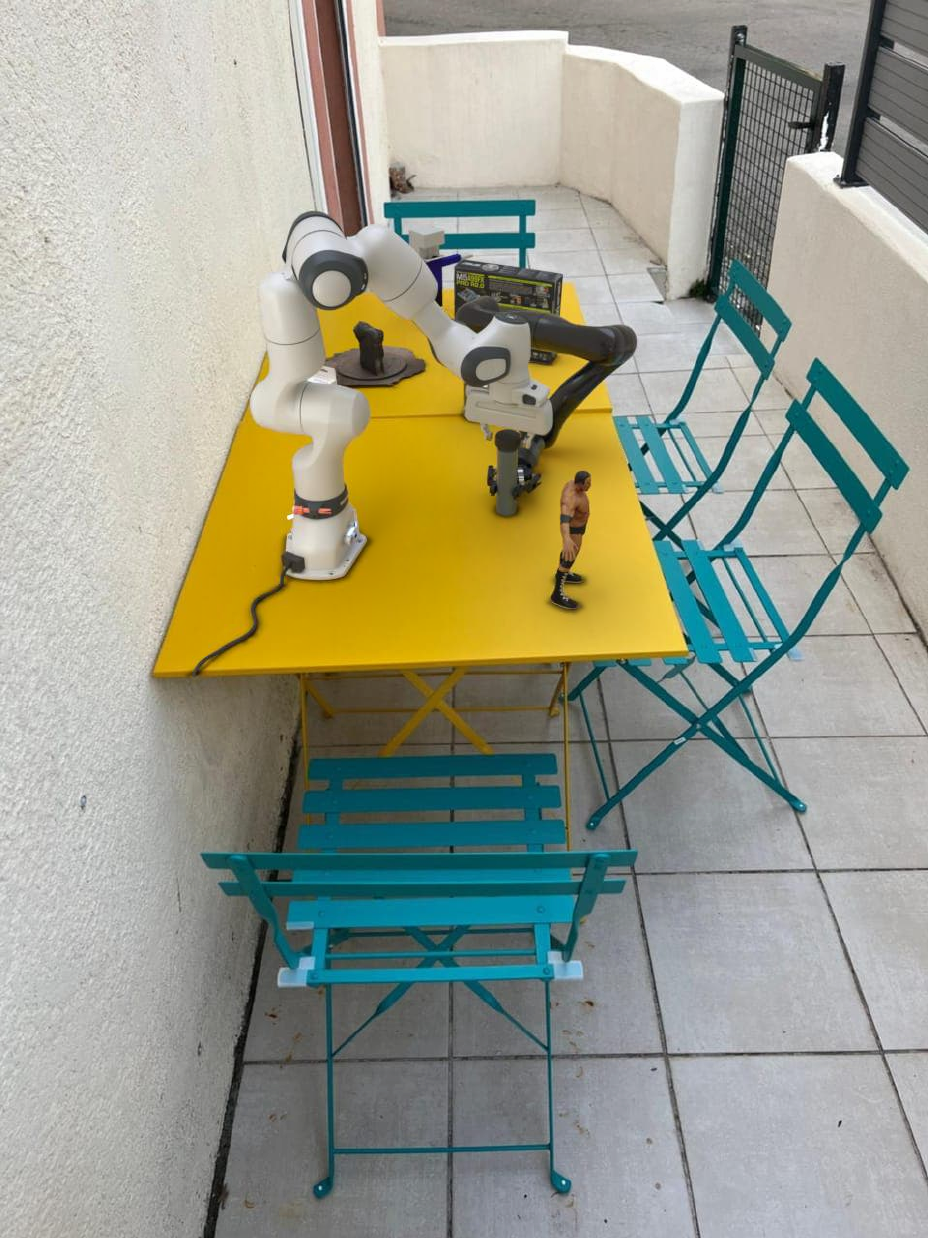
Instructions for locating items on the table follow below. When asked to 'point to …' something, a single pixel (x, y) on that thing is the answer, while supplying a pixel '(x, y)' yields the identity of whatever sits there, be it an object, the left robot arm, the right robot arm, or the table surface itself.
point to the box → (510, 291)
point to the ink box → (324, 376)
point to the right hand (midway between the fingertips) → (503, 494)
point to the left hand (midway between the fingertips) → (507, 443)
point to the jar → (506, 481)
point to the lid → (507, 439)
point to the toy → (433, 252)
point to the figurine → (571, 534)
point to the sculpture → (373, 360)
